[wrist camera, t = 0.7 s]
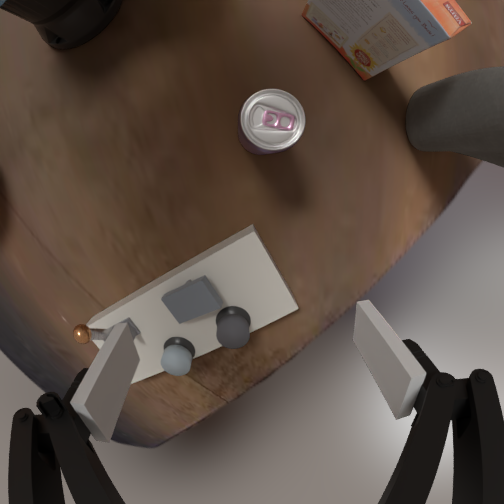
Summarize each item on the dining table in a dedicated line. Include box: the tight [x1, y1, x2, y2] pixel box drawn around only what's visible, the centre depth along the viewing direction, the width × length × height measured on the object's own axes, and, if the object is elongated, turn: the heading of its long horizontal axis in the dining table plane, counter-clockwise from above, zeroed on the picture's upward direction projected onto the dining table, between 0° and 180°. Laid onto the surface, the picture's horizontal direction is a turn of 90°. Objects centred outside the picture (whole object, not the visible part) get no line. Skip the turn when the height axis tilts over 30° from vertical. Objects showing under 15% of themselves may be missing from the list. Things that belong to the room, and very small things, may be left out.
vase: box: [406, 67, 504, 167], centre depth 23 cm, size 12×12×30 cm
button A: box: [216, 314, 250, 349], centre depth 38 cm, size 4×4×2 cm
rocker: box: [161, 275, 223, 324], centre depth 37 cm, size 4×7×1 cm, turn 119°
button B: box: [161, 345, 192, 376], centre depth 40 cm, size 4×4×2 cm
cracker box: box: [302, 0, 472, 81], centre depth 23 cm, size 14×6×21 cm, turn 41°
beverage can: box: [238, 89, 306, 155], centre depth 30 cm, size 6×6×15 cm
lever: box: [73, 324, 112, 344], centre depth 35 cm, size 3×3×10 cm
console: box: [86, 224, 299, 384], centre depth 41 cm, size 13×32×7 cm, turn 119°
